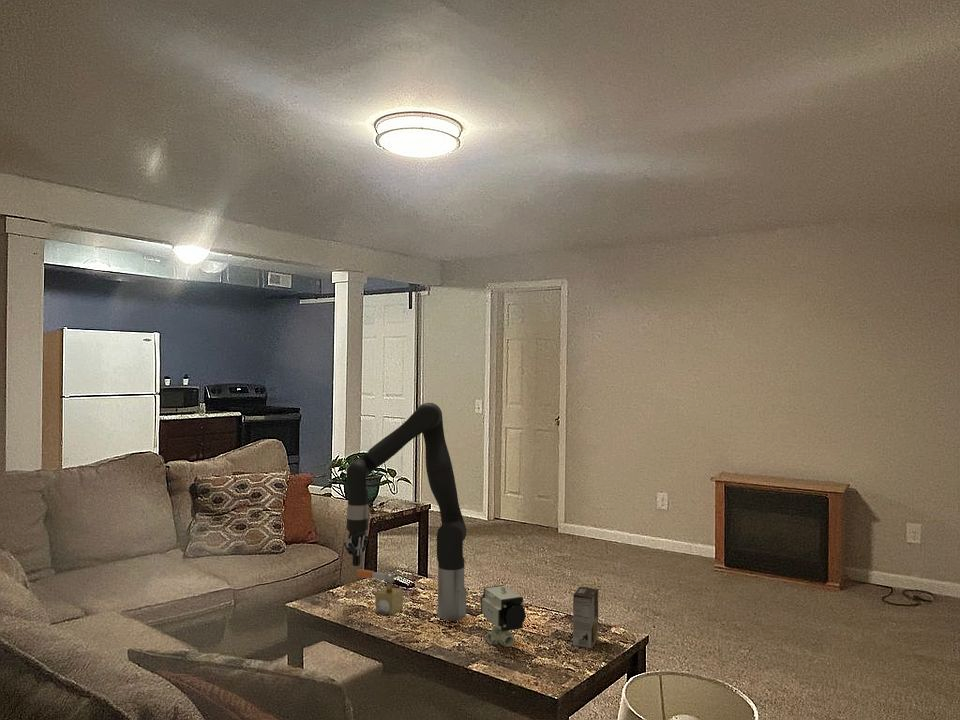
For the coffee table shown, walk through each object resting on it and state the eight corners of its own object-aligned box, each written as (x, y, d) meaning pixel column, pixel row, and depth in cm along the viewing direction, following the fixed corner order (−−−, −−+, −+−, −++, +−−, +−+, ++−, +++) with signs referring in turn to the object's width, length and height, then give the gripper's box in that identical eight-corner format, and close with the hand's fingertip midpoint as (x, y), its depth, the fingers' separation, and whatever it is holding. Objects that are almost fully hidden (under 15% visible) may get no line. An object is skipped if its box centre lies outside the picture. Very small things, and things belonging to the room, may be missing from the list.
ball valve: (476, 635, 231) (477, 580, 231) (499, 631, 235) (500, 577, 235) (501, 656, 215) (502, 597, 215) (526, 651, 218) (526, 594, 218)
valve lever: (395, 580, 254) (395, 573, 254) (391, 583, 251) (391, 575, 251) (361, 575, 260) (361, 568, 260) (356, 577, 257) (356, 570, 257)
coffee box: (579, 635, 232) (579, 585, 232) (598, 638, 230) (599, 588, 230) (571, 645, 224) (572, 594, 224) (591, 648, 221) (592, 597, 222)
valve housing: (403, 608, 256) (404, 579, 256) (391, 616, 247) (391, 586, 247) (387, 605, 258) (387, 577, 258) (373, 613, 250) (374, 584, 250)
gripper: (355, 521, 244) (354, 571, 244) (376, 514, 256) (375, 562, 256) (337, 519, 247) (336, 568, 247) (359, 512, 259) (357, 559, 259)
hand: (356, 565), depth 252 cm, fingers closed
